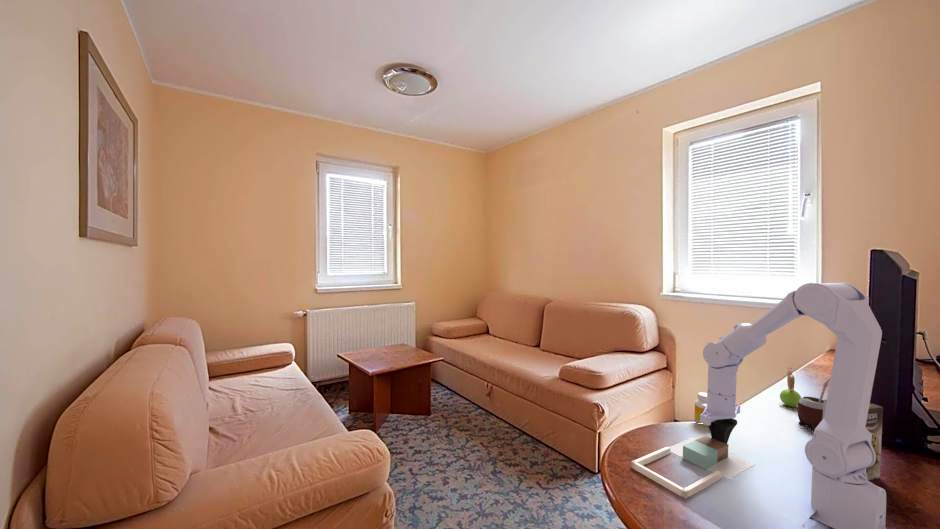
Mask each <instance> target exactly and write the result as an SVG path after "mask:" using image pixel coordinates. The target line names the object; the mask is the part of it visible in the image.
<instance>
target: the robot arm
mask: <svg viewBox="0 0 940 529" xmlns="http://www.w3.org/2000/svg"><path fill="white" fill-rule="evenodd" d="M869 299H870V297H869V296H868V295H867V294H866V293H864V292H863V291H862V290H860V289H858V287H856V286H854V285H853V284H850V283H848V282H843V281H839V282H838V281H836V282H826V283H824V282H823V283H822V282H807V283H805V284H802V285H801V286H799V287H798V288H797V289H796V290H793V291H790V292H789V293H788V294H787V295H786V296H785V297H784V298H783V299H782V300H780V302H778V303H777V304H776V305H775V306H773V307H772V308H771V309H769V310H768V311H766V312H765V313H764V314H763V315H761V316H760V317H759V318H758V319H757V320H755V321H754V322H753V323H747V322H743V323H736V324H735V325H733V330H732V331H730V332H728V334H726V335H722V336H720V337H719V338H718V339H719V340H718V342H715V341H714V342H708V343H707V344H706V345H705V346H704V347H703V349H702V350H703V351H702V356H703V359H704V361H705V362H706V364H707V388H706V389H707V392H706V393H707V404H702V408H705V410H704V412H703V413H702V414H700V423H703V424H705V425H708V427H707V428H708V430H709V433H710V437H711V438H713V439H716V440H718V441H721V442H723V443H726V444H729V443H728V442H729V439H730V437H731V434H732V432H733V430H734V429H735V427H736V426H737V425H738V420H737V419H736V417H737V415H739V414H741V405H739V404H737V403H736V401H737V399H736V398H737V377H738V372H739V366H740V365H741V364H742V363H743V361H744V359H745V357H747V356H749V355H750V354H752V353H753V352H755V351H756V350H758V349H759V348H761V347H763V346H764V345H765V344H766V343H767V336H768V335H769V334H772V333H773V332H775V331H776V330H778V329H780V328H782V327H784V326H786V325H787V324H789V323H791V322H792V321H795V319H797V318H800V317H804V316H805V317H809V318H811V319H813V320H815V321H817V322H818V323H821V324H822V325H824V326H826V328H828V330H830V331H831V333H833V334H834V335H835V336H836V344H835V351H834V355H833V361H832V362H833V363H832V368H831V373H830V374H831V375H830V376H831V379H830V381H829V386H828V393H827V399H826V400H827V403H826V409H825V415H824V418H823V420H822V421H821V422H820V424H819V425H818V426H817V427H816V428H815V430H814V431H813V435H812V438H811V439H809V440H808V441H807V442H806V444H805V446H804V454H805V457H806V459H807V460H808V462H809V463H810V465H811V466H812V467H811V468H812V470H811V487H810V488H811V491H810V493H811V494H810V504H811V507H812V508H813V509H814V510H815V512H813V514H811V515H810V516H809V518H811V519H814V520H815V521H817V522H819V523H821V524H824V525H826V526H828V527H830V528H832V529H887V528H886V517H887V492H886V490H885V489H884V488H882V487H881V486H878V485H876V484H874V483H873V482H871V481H870V480H867V474H866V468H868V467H871V466H872V465H873V464H874V463H875V460H876V455H875V451H874V449H873V447H872V443H871V440H872V434H871V433H870V432H869V431H868V430H867V429H866V428H865V426H866V420H867V415H868V409H869V404H870V403H871V398H872V392H873V387H874V382H875V376H876V371H877V370H876V369H877V366H878V365H877V364H878V360H879V359H878V358H879V353H880V348H881V343H882V336H883V330H882V329H881V328H882V327H881V326H880V324H879V322H878V320H877V318H876V316H875V315H874V312H873V311H872V309H871V307H870V305H869V303H870V300H869Z"/></svg>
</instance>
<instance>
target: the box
mask: <svg viewBox="0 0 940 529" xmlns="http://www.w3.org/2000/svg"><path fill="white" fill-rule="evenodd" d="M670 447H671V446H665V447H663V448H660V449H658V450H655V451H654V452H653V451H652V452H651V453H648V454H646V455H644V456H641V457H638V458H637V459H633V460H631V462H630V467H631V469H633V470H634V471H635V472H639V473H640V474H641V475H643V476H645V477H647V478H648V479H650V480H651V481H654V482H655V483H657V484H659V485H660V486H663V487H664V488H666V489H667V490H669V491H671V492H672V493H674V494H675V495H678V496H680V497H681V498H684V499H685V500H686V499H688V498H690V497H691V496H693V495H694V494H696V493H698V492H700V491H702V490H704V489H705V488H707V487H709V486H711V485H712V484H714V483H716V482H719V480H721V479H722V478H723V477H722V472H720V471H718V470H717V471H715V472H711V473H710V474H708V475H706V476H705V477H702V478H700V479H699V480H697V481H695V482H693V483H691V484H689V485H687V486H685V487H682V486H680V485H679V484H676V483H675V482H673V481H672V480H669V479H668V478H665V477H664V476H662V475H661V474H659V473H657V472H654V471H653V470H651V469H650V468H648V467H646V466H645V465H648V464H650V463H652V462H654V461H657V460H659V459H661V458H663V457H667V455H670V454H671V452H670Z"/></svg>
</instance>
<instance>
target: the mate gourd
mask: <svg viewBox="0 0 940 529" xmlns="http://www.w3.org/2000/svg"><path fill="white" fill-rule="evenodd" d="M830 379H831V375H830V376H829V377H828V378H827V379H826V381H825V382H824V383H823V385H822V386H823V387H822V390H821V393H820V397H819V398H818V397H815V396H801V399H800V400H799V402H798V406H797V416H798V420H799V421H798V425H800V426H805V427H808V428H811V429H810V430H811V431H813V432H814V430H815V429H816V427H817V426H818V425H819V424H820V422H821V421H822V416H823V400H824V399H823V398H824V395H825V391H826V389H827V387H828V384H829V383H830Z"/></svg>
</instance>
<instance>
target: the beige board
mask: <svg viewBox="0 0 940 529" xmlns="http://www.w3.org/2000/svg"><path fill="white" fill-rule="evenodd" d="M696 439H697V438H696V437H692V436H691V437H690V438H687V439H685V440H683V441H680V442H678V443H676V444H673V445H671V446H669V447H670V453H672V454H673V455H677V456H678V457H680V458H682V459H683V446H684V445H686V444H688V443H690V442H693V441H695V440H696ZM755 465H756V463H754V462H751V461H749V460H747V459H744V458H742V457H739V456H737V455H735V454H732V453H730V452H728V457H727V458H725V459H723V460H721V461H720V462H718V463H717V464H715V465H713V466H711V467H709V468H707V469H706V470H707V471H709V472H711V473H713V472H715V471H717V470H718V471H720V472H722V478H723V479H725V480H731V479H732V478H735V477H736V476H738V475H739V474H741V473H743V472H745V471H746V470H748V469H749V468H752V467H753V466H755Z"/></svg>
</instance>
